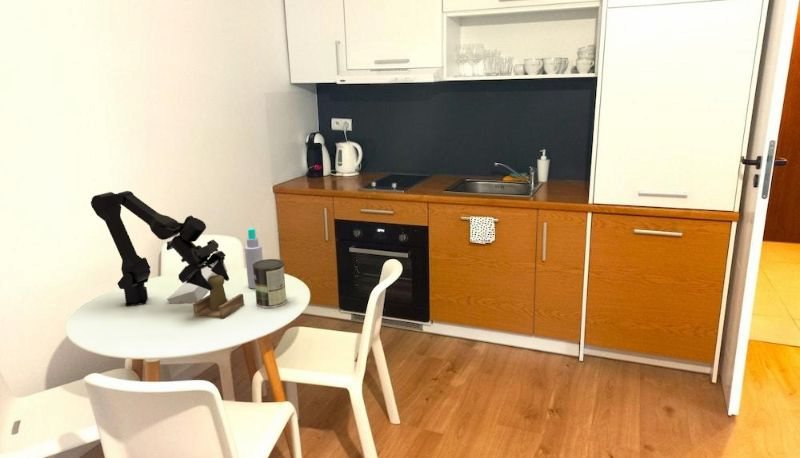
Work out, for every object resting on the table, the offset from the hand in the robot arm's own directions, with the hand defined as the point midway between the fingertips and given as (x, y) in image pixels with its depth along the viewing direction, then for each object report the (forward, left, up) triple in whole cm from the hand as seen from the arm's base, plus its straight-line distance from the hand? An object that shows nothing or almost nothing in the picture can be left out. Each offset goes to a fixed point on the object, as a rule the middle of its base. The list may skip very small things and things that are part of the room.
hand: (220, 284), depth 185 cm
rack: (-1, +1, -9) cm, 9 cm away
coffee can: (+16, +1, -9) cm, 19 cm away
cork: (-1, +1, -8) cm, 8 cm away
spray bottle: (+13, +20, -9) cm, 25 cm away
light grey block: (-7, +29, -10) cm, 32 cm away
